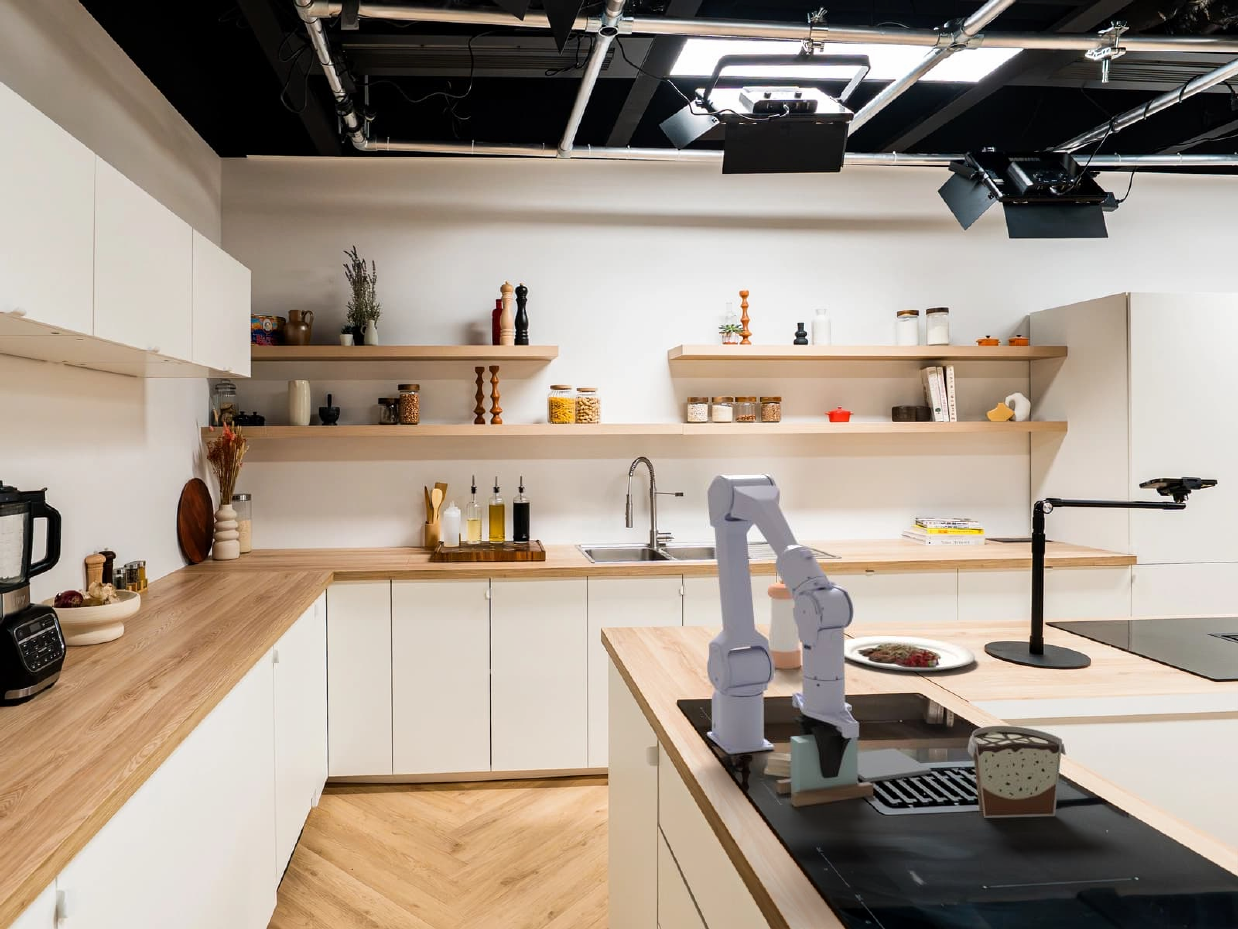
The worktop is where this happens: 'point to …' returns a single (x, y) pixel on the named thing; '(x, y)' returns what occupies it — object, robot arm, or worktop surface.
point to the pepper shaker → (783, 628)
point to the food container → (1016, 771)
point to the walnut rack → (825, 793)
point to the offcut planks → (779, 764)
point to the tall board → (808, 765)
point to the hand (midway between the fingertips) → (824, 772)
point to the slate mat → (888, 765)
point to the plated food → (907, 653)
